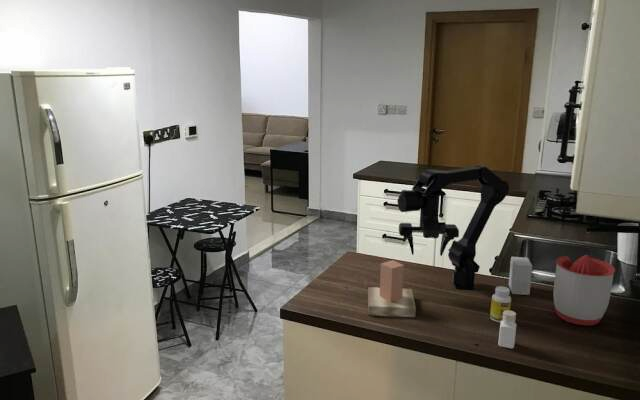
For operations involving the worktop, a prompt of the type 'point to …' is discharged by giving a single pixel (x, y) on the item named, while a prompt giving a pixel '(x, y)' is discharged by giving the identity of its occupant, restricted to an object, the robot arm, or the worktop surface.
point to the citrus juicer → (582, 289)
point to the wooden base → (391, 304)
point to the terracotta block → (391, 280)
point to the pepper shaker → (507, 329)
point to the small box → (520, 275)
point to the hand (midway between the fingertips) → (426, 254)
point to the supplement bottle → (500, 303)
